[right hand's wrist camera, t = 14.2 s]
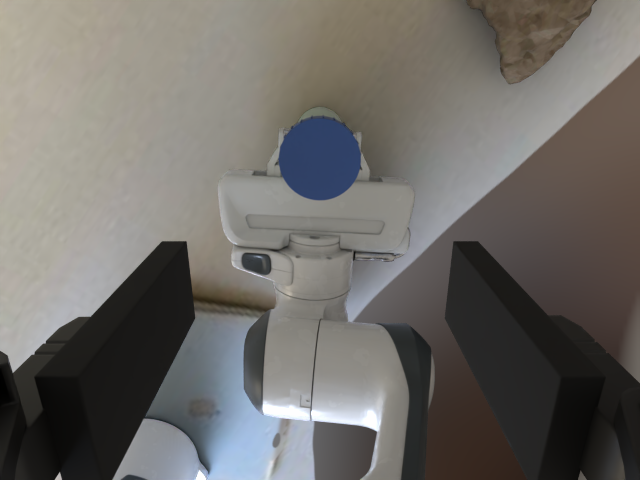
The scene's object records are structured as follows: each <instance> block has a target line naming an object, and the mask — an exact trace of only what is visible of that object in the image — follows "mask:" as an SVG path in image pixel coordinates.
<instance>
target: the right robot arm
mask: <svg viewBox="0 0 640 480" xmlns="http://www.w3.org/2000/svg"><path fill="white" fill-rule="evenodd" d="M445 319H446V321H447V323H448V325H449V327H450V329H451V331H452V333H453V335H454V337H455V339H456V341H457V343H458V345H459V347H460V349H461V351H462V353H463V355H464V357H465V359H466V361H467V362H468V364H469V366H470V368H471V370H472V372H473V374H474V376H475V378H476V380H477V382H478V384H479V386H480V388H481V390H482V392H483V394H484V396H485V398H486V400H487V402H488V404H489V406H490V407H491V409H492V411H493V413H494V415H495V417H496V419H497V421H498V423H499V425H500V427H501V429H502V431H503V433H504V435H505V437H506V439H507V441H508V443H509V445H510V447H511V449H512V450H513V452H514V454H515V456H516V458H517V460H518V462H519V464H520V466H521V468H522V470H523V472H524V474H525V476H526V478H527V480H578V477H579V474H580V470H581V471H582V473H583V474H584V476H585V477H586V479H587V480H640V383H639V382H638V381H637V380H636V379H635V378H634V377H633V376H632V375H631V374H630V373H628V372H627V371H626V370H625V369H624V368H623V367H622V366H621V365H620V364H619V363H618V362H617V361H616V360H615V359H614V358H613V357H612V356H611V355H610V354H609V353H606V350H605V349H604V348H603V347H602V346H601V345H600V344H599V343H597V342H595V341H594V339H593V338H592V337H591V336H590V335H589V334H588V333H587V332H586V331H585V330H584V329H583V328H582V327H581V326H579V325H577V324H576V323H574V322H572V321H570V320H568V319H567V318H565V317H563V316H561V315H547V314H546V313H545V312H544V311H543V310H542V309H541V308H540V307H539V306H538V304H537V303H536V302H535V301H534V300H533V299H532V298H531V297H530V296H529V295H528V294H527V293H526V292H525V291H524V290H523V289H522V288H521V287H520V286H519V284H518V283H517V282H516V281H515V280H514V279H513V278H512V277H511V276H510V275H509V274H508V273H507V272H506V271H505V270H504V268H503V267H502V266H501V265H500V264H499V263H498V262H497V261H496V260H495V259H494V258H493V257H492V256H491V255H490V254H489V253H488V252H487V251H486V249H485V248H484V247H483V246H482V245H481V244H480V243H479V242H478V241H454V242H453V251H452V259H451V268H450V277H449V286H448V295H447V304H446V312H445ZM194 320H195V312H194V304H193V295H192V286H191V277H190V268H189V259H188V251H187V242H186V241H162V242H161V243H160V244H159V245H158V246H157V247H156V248H155V249H154V251H153V252H152V253H151V254H150V255H149V256H148V257H147V258H146V259H145V260H144V261H143V262H142V263H141V264H140V265H139V266H138V267H137V268H136V270H135V271H134V272H133V273H132V274H131V275H130V276H129V277H128V278H127V279H126V280H125V281H124V282H123V283H122V284H121V285H120V286H119V288H118V289H117V290H116V291H115V292H114V293H113V294H112V295H111V296H110V297H109V298H108V299H107V300H106V301H105V302H104V303H103V304H102V306H101V307H100V308H99V309H98V310H97V311H96V312H95V313H94V314H93V315H92V316H91V317H78V318H76V319H75V320H73V321H71V322H69V323H67V324H66V325H64V326H62V327H60V328H59V329H58V330H57V331H56V332H55V333H54V334H53V335H52V336H51V337H50V338H49V339H48V340H47V341H46V344H42V345H41V346H40V347H39V348H38V349H37V350H36V351H35V355H31V356H30V357H29V358H28V359H27V360H26V361H25V362H24V363H23V364H22V365H21V366H20V367H19V368H18V369H17V370H16V371H15V372H14V373H12V369H11V366H10V362H9V359H8V356H7V355H6V354H4V353H3V352H1V351H0V480H55V478H56V477H57V475H58V474H59V472H60V474H61V477H62V480H113V478H114V476H115V474H116V472H117V470H118V468H119V466H120V464H121V462H122V460H123V458H124V456H125V454H126V452H127V451H128V449H129V447H130V445H131V443H132V441H133V439H134V437H135V435H136V433H137V431H138V429H139V427H140V425H141V423H142V421H143V419H144V417H145V415H146V413H147V411H148V409H149V408H150V406H151V404H152V402H153V400H154V398H155V396H156V394H157V392H158V390H159V388H160V386H161V384H162V382H163V380H164V378H165V376H166V374H167V372H168V370H169V368H170V366H171V365H172V363H173V361H174V359H175V357H176V355H177V353H178V351H179V349H180V347H181V345H182V343H183V341H184V339H185V337H186V335H187V333H188V331H189V329H190V327H191V325H192V323H193V322H194Z"/></svg>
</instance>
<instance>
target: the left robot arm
mask: <svg viewBox="0 0 640 480" xmlns="http://www.w3.org/2000/svg"><path fill="white" fill-rule="evenodd" d="M290 129H291V128H279V133H278V147H277V148H276V150H275V152H274V153H273V155H272V157H271V158H270V160H269V162H268V163H267V171H261V170H241V169H230V170H228V171H227V172H226V173H225V174H224V175H223V176H222V177H221V178H220V180H219V182H218V200H219V209H220V216H221V221H222V226H223V230H224V233H225V235H226V237H227V238H228V239H229V241H230V242H232V243H233V244H234V245H233V248H232V253H231V263H232V265H233V266H234V267H235V268H237V269H240V270H243V271H246V272H249V273H252V274H255V275H258V276H260V277H263V278H266V279H268V280H271V281H273V285H274V289H275V293H276V305H275V308H274V309H270V310H268V311H267V312H266V313H265V314H264V315H262V316H261V317H260V318H259V319H258V320H257V321H256V322H255V323H254V324H253V325H252V326H251V328H250V329H249V331H248V333H247V336H246V339H245V344H244V390H245V392H246V394H247V396H248V397H249V399H250V401H251V402H252V404H253V405H254V407H255V408H256V409H257V410H258V411H259V412H260V413H261V414H262V415H268V416H272V417H278V418H287V419H296V420H305V421H311V419H312V420H313V421H322V422H332V423H341V424H351V425H360V426H365V427H368V428H371V429H373V430H376V431H377V437H376V442H375V447H374V453H373V458H372V463H371V467H370V470H369V471H368V473H367V474H366V475H365V476H364V477H363V478H362V479H360V480H425V463H426V443H427V422H428V410H429V407H430V403H431V400H432V395H433V390H434V381H435V368H434V361H433V356H432V353H431V348H430V346H429V345H428V343H427V342H426V341H425V340H424V339H423V338H422V337H421V336H420V335H419V334H418V333H417V332H416V331H415V330H414V329H413V328H412V327H411V326H409V325H408V324H406V323H376V324H367V323H356V322H348V314H347V310H346V300H347V297H348V295H349V292H350V289H351V279H352V268H353V261H354V260H363V261H370V260H381V261H384V262H390V261H394V258H399V257H401V256H402V255H404V254H405V253H406V252H407V250H408V247H409V241H410V230H409V228H408V225H409V222H410V218H411V214H412V210H413V205H414V200H415V191H414V189H413V187H412V186H411V184H410V183H409V182H408V181H407V180H406V179H404V178H396V177H377V176H369V175H370V169H369V167H368V164H367V162H366V160H365V158H364V156H363V154H362V152H361V140H362V133H361V132H353V135H354V137H355V139H356V140H357V141H358V143H359V144H358V145H359V149H360V152H361V166H360V170H359V173H358V176H357V178H356V180H355V182H354V183H353V184H352V186H351V187H350V188H349V189H348V190H347V191H345V192H344V193H343V194H341V195H340V196H337V197H335V198H332V199H329V200H320V201H319V200H311V199H307V198H304V197H302V196H300V195H298V194H297V193H295V192H294V191H293V190H292V189H291V188H290V187H289V186H288V185H287V183H286V182H285V180H284V179H283V177H282V174H281V171H280V167H279V161H278V162H277V160H278V158H279V152H280V146H281V144H282V142H283V140H284V136H285V134H287V133H288V132H289V130H290ZM354 250H355V251H354ZM394 253H399V254H396V255H394ZM208 476H209V474H208V471H207V470H206V468H205V467H204V466H203V465H202V464H201V463H200V461H199V458H198V454H197V451H196V448H195V446H194V444H193V442H192V441H191V440H190V438H189V437H188V436H187V435H186V434H185V433H183V432H182V431H181V430H179V429H178V428H176V427H175V426H173V425H171V424H168V423H166V422H163V421H159V420H154V419H143V421H142V423H141V425H140V427H139V429H138V431H137V433H136V435H135V437H134V439H133V441H132V443H131V445H130V447H129V449H128V451H127V452H126V454H125V456H124V458H123V460H122V462H121V464H120V466H119V468H118V470H117V472H116V474H115V476H114V478H113V480H207V478H208Z"/></svg>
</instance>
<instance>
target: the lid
mask: <svg viewBox="0 0 640 480" xmlns="http://www.w3.org/2000/svg"><path fill="white" fill-rule="evenodd" d="M358 144H359V143H358V141H357V140H356V139H355V137H354V135H353V132H352V130H351V131H350V130H349V128H348V127H347V126H346V125H345V123H342V122H340V121H338V120H336V119H335V118H334V117H333V118H331V117H327V116H324V115H323V116H313V115H312V116H311V117H309V118H305V119H303V120H302V119H301V120H300V122H298V123H297V124H295V125H294V126H292V127H291V129H290V130H289V132H288V133H287V134H285V136H284V140H283V142H282V144H281V146H280V152H279V158H278V160H279V167H280V171H281V174H282V177H283V179H284V180H285V182H286V183H287V185H288V186H289V187H290V188H291V189H292V190H293V191H294V192H295V193H297V194H298V195H300V196H302V197H304V198H307V199H311V200H319V201H320V200H329V199H332V198H335V197H337V196H340V195H341V194H343V193H344V192H345V191H347V190H348V189H349V188H350V187H351V186H352V184H353V183H354V182H355V180H356V178H357V176H358V173H359V170H360V166H361V152H360V149H359V145H358Z"/></svg>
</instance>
